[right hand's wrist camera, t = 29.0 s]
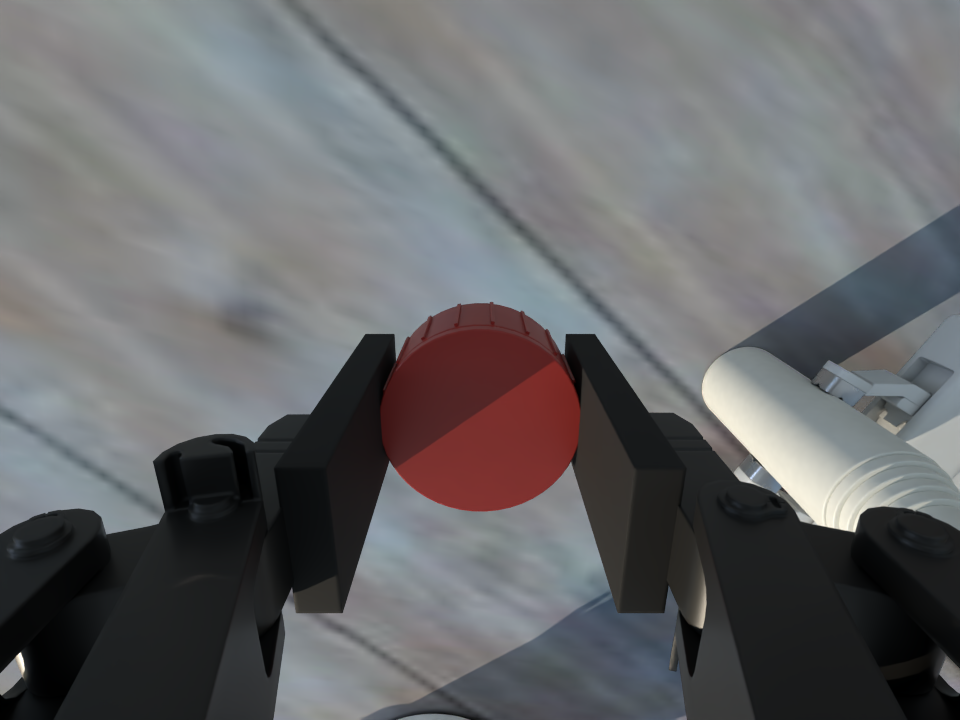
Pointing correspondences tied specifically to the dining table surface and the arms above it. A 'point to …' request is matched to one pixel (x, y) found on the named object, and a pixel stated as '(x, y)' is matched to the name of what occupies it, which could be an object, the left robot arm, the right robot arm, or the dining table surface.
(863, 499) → the bottle
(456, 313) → the cap
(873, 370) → the left robot arm
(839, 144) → the dining table surface
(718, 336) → the dining table surface
